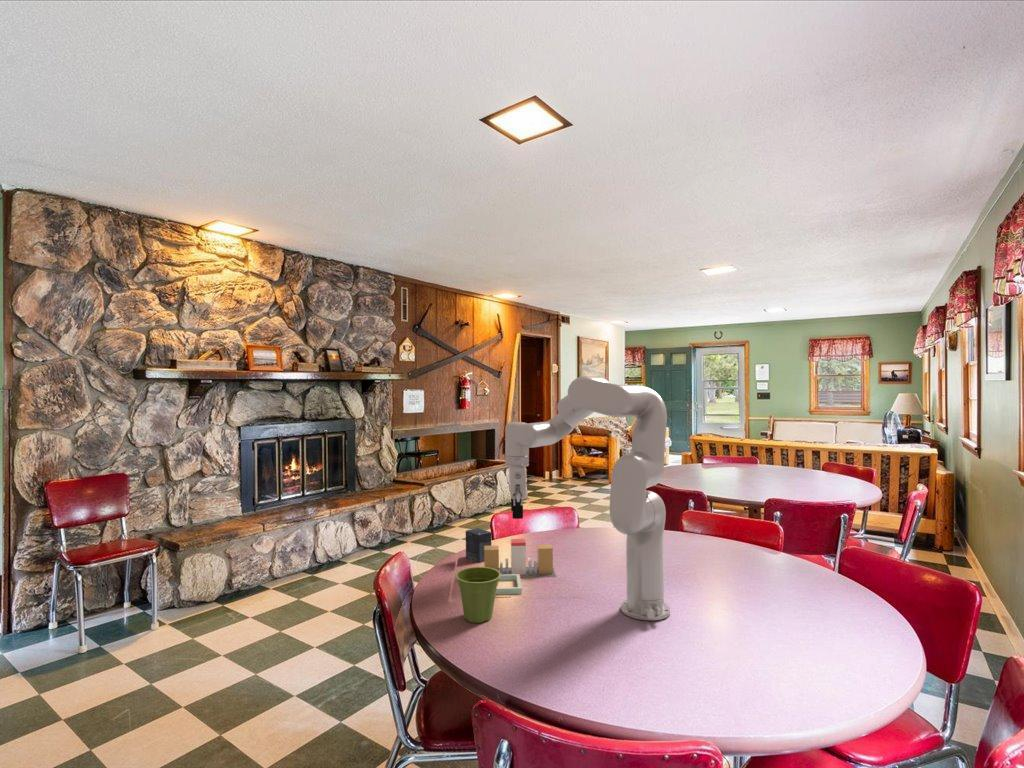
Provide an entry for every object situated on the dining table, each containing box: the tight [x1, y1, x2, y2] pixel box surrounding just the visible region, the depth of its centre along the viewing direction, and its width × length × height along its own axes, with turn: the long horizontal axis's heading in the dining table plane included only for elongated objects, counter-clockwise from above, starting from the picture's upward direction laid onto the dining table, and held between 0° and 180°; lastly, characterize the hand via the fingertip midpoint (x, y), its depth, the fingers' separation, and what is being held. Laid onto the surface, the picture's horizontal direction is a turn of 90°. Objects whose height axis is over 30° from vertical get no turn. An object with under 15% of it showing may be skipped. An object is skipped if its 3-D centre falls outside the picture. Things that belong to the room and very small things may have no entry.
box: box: [465, 527, 492, 564], centre depth 184 cm, size 8×6×11 cm
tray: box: [495, 574, 523, 599], centre depth 157 cm, size 12×12×2 cm
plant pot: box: [454, 566, 501, 624], centre depth 138 cm, size 12×12×11 cm
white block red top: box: [510, 538, 527, 575], centre depth 170 cm, size 4×4×10 cm
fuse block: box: [483, 543, 557, 579], centre depth 170 cm, size 10×23×9 cm, turn 92°
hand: (516, 514), depth 170 cm, fingers open, 9 cm apart
